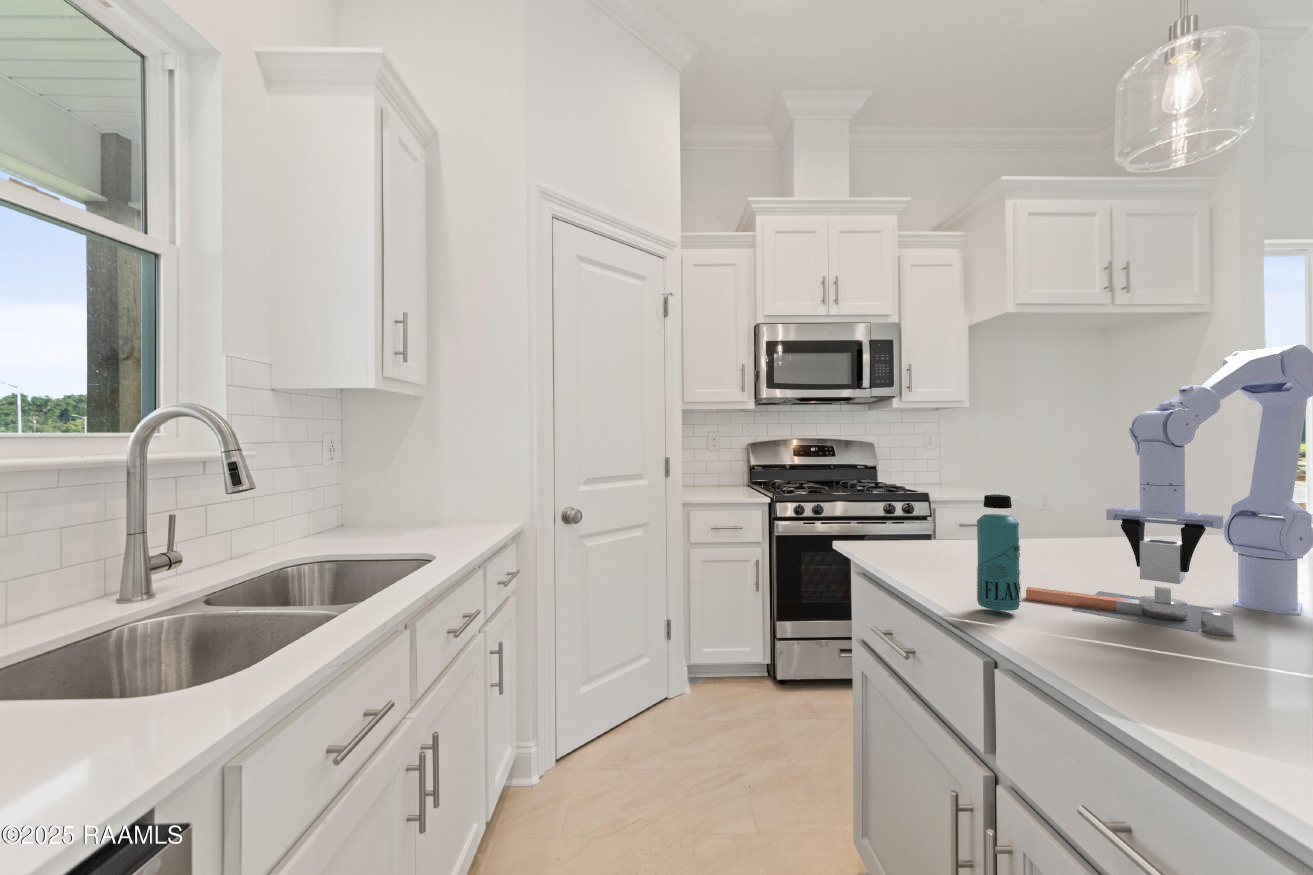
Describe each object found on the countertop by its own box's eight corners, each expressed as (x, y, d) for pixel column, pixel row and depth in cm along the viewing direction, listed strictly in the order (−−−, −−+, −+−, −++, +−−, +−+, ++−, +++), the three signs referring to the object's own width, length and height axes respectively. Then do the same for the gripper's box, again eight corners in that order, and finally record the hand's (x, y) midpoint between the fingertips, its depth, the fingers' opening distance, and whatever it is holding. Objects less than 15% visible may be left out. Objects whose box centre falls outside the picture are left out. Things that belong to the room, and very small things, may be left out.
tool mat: (1099, 592, 116) (1099, 590, 116) (1213, 609, 104) (1213, 608, 104) (1071, 612, 104) (1071, 610, 104) (1197, 634, 92) (1197, 632, 92)
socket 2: (1203, 629, 95) (1202, 608, 94) (1235, 634, 92) (1235, 613, 92) (1199, 634, 92) (1199, 613, 92) (1232, 640, 89) (1232, 618, 89)
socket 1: (1146, 573, 104) (1145, 538, 104) (1185, 578, 100) (1184, 541, 100) (1139, 578, 100) (1139, 541, 100) (1179, 584, 97) (1179, 545, 97)
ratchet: (1185, 614, 101) (1185, 587, 101) (1188, 623, 96) (1188, 594, 96) (1029, 594, 114) (1029, 570, 114) (1024, 601, 109) (1024, 576, 109)
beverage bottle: (978, 617, 101) (977, 495, 101) (974, 607, 107) (973, 492, 107) (1024, 622, 99) (1023, 497, 99) (1017, 610, 105) (1016, 493, 105)
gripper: (1101, 483, 103) (1102, 565, 103) (1219, 488, 92) (1219, 580, 92) (1111, 481, 107) (1112, 559, 108) (1224, 485, 97) (1225, 572, 97)
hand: (1162, 568), depth 100 cm, fingers closed on socket 1, 5 cm apart
